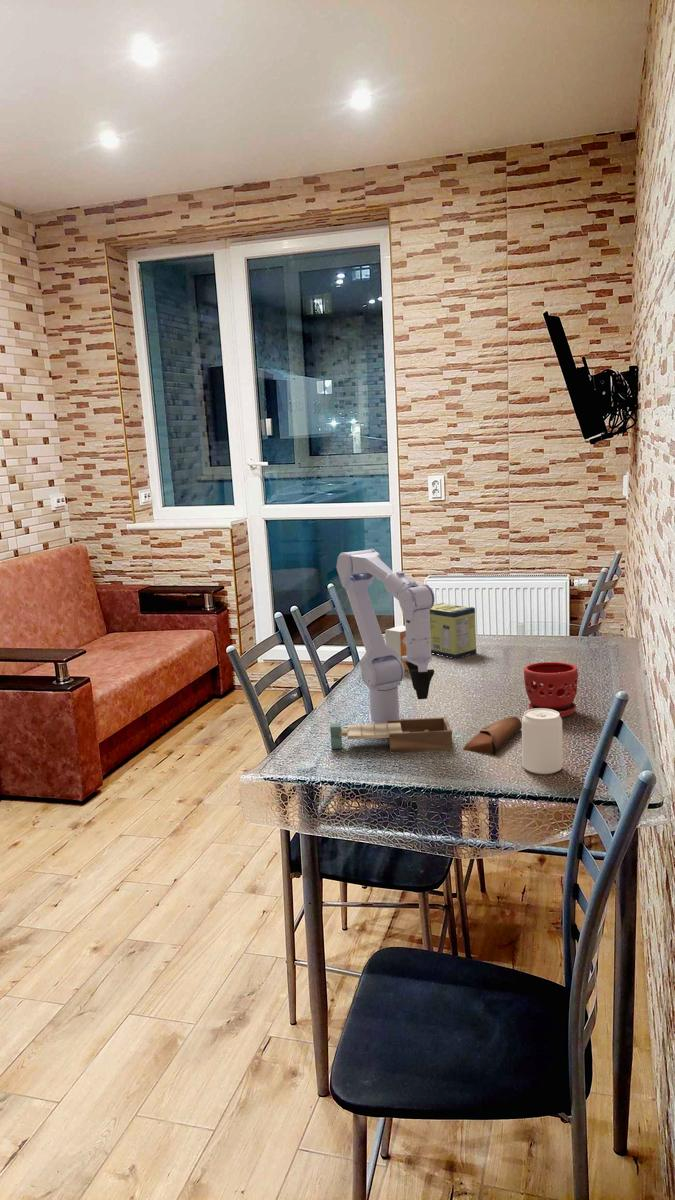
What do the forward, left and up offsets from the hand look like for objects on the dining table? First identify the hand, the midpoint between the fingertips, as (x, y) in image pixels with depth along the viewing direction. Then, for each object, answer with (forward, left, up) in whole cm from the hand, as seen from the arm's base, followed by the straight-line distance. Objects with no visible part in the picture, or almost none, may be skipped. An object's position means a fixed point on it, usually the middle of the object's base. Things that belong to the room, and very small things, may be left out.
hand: (420, 694), depth 188 cm
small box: (-62, 0, -11) cm, 63 cm away
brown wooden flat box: (+5, -1, -10) cm, 12 cm away
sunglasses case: (+5, +16, -11) cm, 20 cm away
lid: (+5, -13, -10) cm, 17 cm away
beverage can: (+23, +23, -11) cm, 34 cm away
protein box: (-80, +17, -11) cm, 83 cm away
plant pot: (-13, +34, -11) cm, 38 cm away
